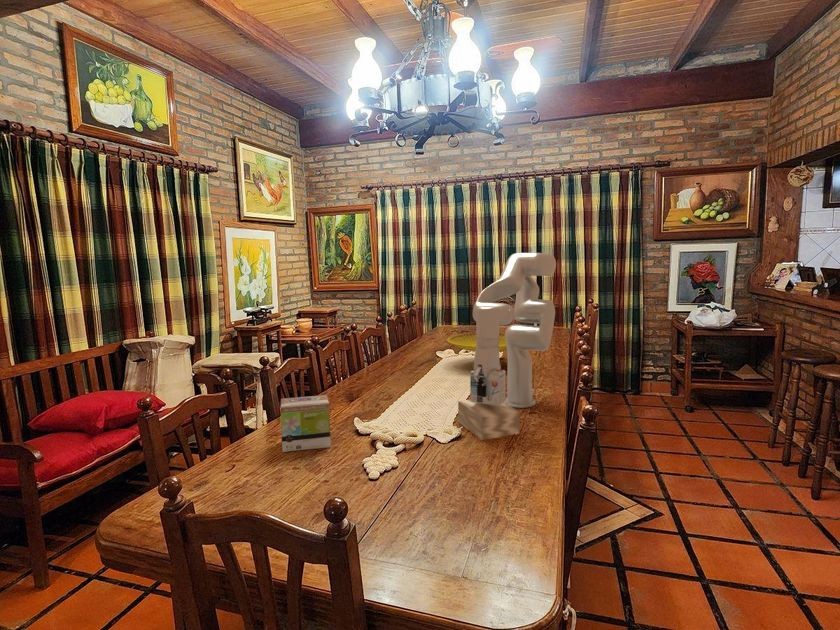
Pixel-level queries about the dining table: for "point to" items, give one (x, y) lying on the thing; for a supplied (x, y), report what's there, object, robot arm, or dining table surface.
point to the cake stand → (473, 342)
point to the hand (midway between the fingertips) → (487, 393)
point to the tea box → (305, 423)
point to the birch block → (488, 419)
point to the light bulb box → (489, 388)
